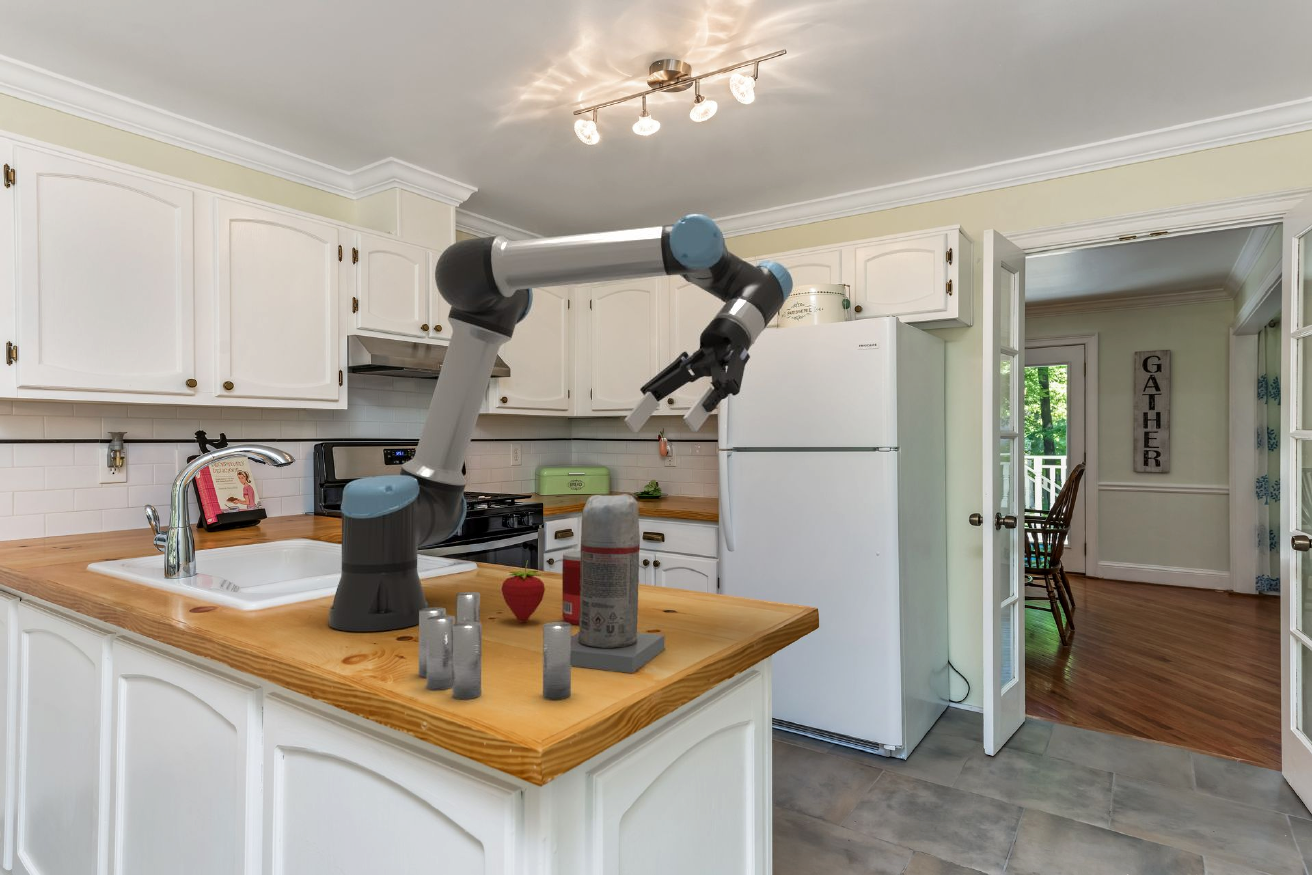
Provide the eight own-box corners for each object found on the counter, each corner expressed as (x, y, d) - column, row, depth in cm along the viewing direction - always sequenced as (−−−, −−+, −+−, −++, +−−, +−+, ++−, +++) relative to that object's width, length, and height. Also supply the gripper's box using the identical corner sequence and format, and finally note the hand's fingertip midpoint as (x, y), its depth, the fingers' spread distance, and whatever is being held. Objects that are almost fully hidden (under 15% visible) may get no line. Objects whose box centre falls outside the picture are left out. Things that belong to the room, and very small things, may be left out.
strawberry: (516, 615, 126) (516, 556, 126) (552, 621, 122) (553, 559, 122) (492, 623, 120) (493, 561, 120) (530, 628, 117) (530, 564, 117)
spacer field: (373, 686, 88) (374, 618, 88) (464, 647, 105) (465, 591, 106) (547, 711, 80) (547, 637, 80) (615, 665, 97) (615, 603, 97)
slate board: (548, 663, 98) (548, 647, 98) (587, 641, 109) (587, 627, 109) (632, 673, 94) (632, 657, 94) (664, 649, 105) (664, 635, 105)
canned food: (603, 627, 118) (603, 557, 118) (555, 624, 120) (555, 555, 120) (615, 616, 126) (616, 551, 126) (570, 614, 127) (570, 549, 127)
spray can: (652, 641, 102) (653, 495, 102) (609, 653, 96) (610, 497, 96) (609, 630, 107) (610, 492, 108) (566, 641, 101) (567, 494, 102)
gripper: (803, 344, 111) (732, 443, 101) (690, 359, 130) (621, 444, 120) (779, 304, 108) (703, 403, 98) (667, 325, 127) (595, 410, 117)
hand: (658, 426), depth 109 cm, fingers open, 13 cm apart
